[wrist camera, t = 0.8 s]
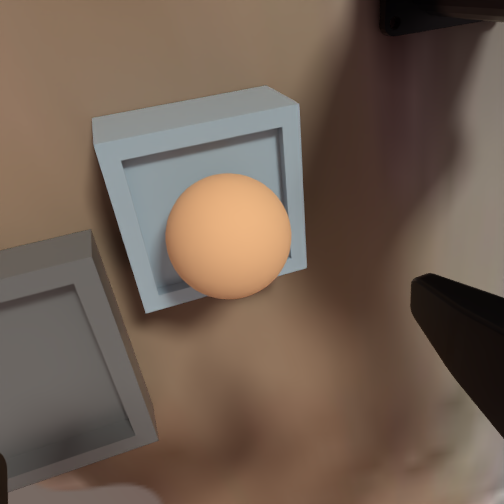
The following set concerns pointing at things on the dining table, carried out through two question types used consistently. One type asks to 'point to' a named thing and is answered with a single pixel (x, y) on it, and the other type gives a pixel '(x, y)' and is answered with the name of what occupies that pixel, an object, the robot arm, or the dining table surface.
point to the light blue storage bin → (196, 172)
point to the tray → (65, 363)
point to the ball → (228, 236)
